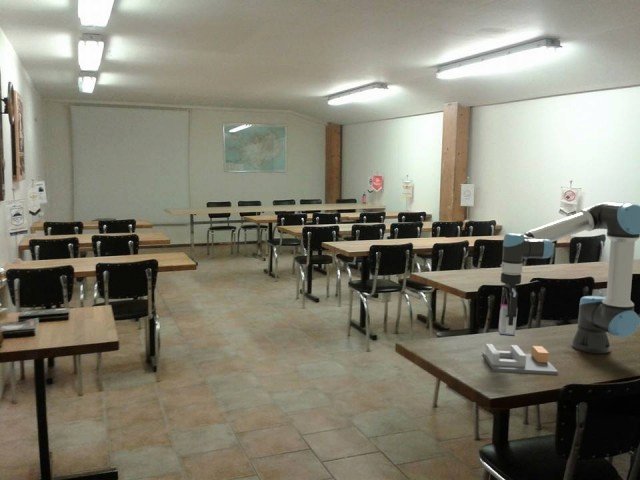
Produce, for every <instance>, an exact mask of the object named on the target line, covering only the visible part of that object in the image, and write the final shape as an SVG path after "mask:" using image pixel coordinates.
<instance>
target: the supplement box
mask: <svg viewBox="0 0 640 480" xmlns="http://www.w3.org/2000/svg"><path fill="white" fill-rule="evenodd" d="M517 310H518V307H517ZM506 315H508V304H501V303H500V310H499V319H498V327H497V329H498V330H497V331H498V334H499V336H506V337H515V336H516V327H517V318H518V312H517V313H516V317H514V326H513V333H505V331H506V318H507V317H506Z"/></svg>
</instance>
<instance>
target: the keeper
mask: <svg viewBox="0 0 640 480" xmlns="http://www.w3.org/2000/svg"><path fill="white" fill-rule="evenodd" d="M549 353H550V352H549V351H548V350H547V349H546V348H544V346H542V345H541V346H539V345H531V353H530V354H531V355H532V357H533V358H534V359H535V360H536V361H537V362H544V363H548V361H549V357H550V355H549Z"/></svg>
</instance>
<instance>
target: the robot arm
mask: <svg viewBox="0 0 640 480" xmlns="http://www.w3.org/2000/svg"><path fill="white" fill-rule="evenodd" d="M595 230H606V237H607V238H608V239H609V240H610V244H609V245H610V247H609V260H608V272H607V284H606V296H598V295H597V296H596V295H586V296H582V297H581V298H580V301H579V305H578V306H579V308H578V321H577V330H576V331H575V333H574V335H573V337H572V340H571V346H572V347H573V348H574V349H576V350H579V351H581V352H586V353H590V354H591V353H593V354H607V353H610V351H611V343H610V338H609V335H608V334H610V335H612V336H614V337H618V338H627V337H630V336H632V335H633V334H634V333H636V331H637V330H638V328H639V326H640V317H639V315H638V314H637V313H636V312H635V303H634V302H633V301H632V300H631V295H632V294H631V293H632V282H633V281H632V280H633V271H634V261H635V260H634V256H635V246H636V241H638V240H639V239H640V205H639V204H634V203H630V202H616V201H605V202H604V201H603V202H601V203H597V204H594V205H591V206H588V207H585V208H582V209H581V210H579V211H578V213H576V214H572V215H571V216H567V217H564V218H561V219H559V220H556V221H554V222H549V223H548V224H545V225H542V226H540V227H537V228H533V229H531V230H529V231H524V232H522V233H516V232H515V233H513V232H511V233H509V232H508V233H505V235H504V237H503V241H502V242H503V243H502V256H501V257H502V260H501V261H502V262H501V264H500V268H501V274H500V283H502V285H501V287H502V289H501V290H502V291H501V301H500V305H501V304H508V315H506V317H507V318H506V331H505V333H513V326H514V317H516V313H517V314H518V309H517V308H518V296H519V292H518V291H517V288H516V286H517V285H520V284H522V272H523V265H524V264H523V260H524V259H540V260H542V259H549V258H551V257H552V255H553V254H554V249H555V248H554V243H553V242H556V241H558V240H562V239H564V238H567V237H570V236H573V235H576V234H578V233H581V232H583V231H586V232H591V231H595Z"/></svg>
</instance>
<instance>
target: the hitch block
mask: <svg viewBox="0 0 640 480" xmlns="http://www.w3.org/2000/svg"><path fill="white" fill-rule="evenodd" d="M482 356H483V357H484V359H485V360H486V362H487V363H488V365H489V366H490V367H491V369H492V370H493V372H499V373H500V372H501V373H502V372H503V373H519V374H520V373H522V374H539V375H540V374H542V375H559V370H557V369H556V368H555V366H554V365H553V364H552V363H551V362H550V361H549V360H548V363H544V362H537V361H536V360H535V359H534V358H533V357H532V355H531V353H524V351H523V350H522V349H521V348H520V347H519V346H518V345H517V344H510V349H509V350H497V348H496V347H495V346H494V345H493V344H492V343H486V344H485V351H482Z"/></svg>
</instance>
